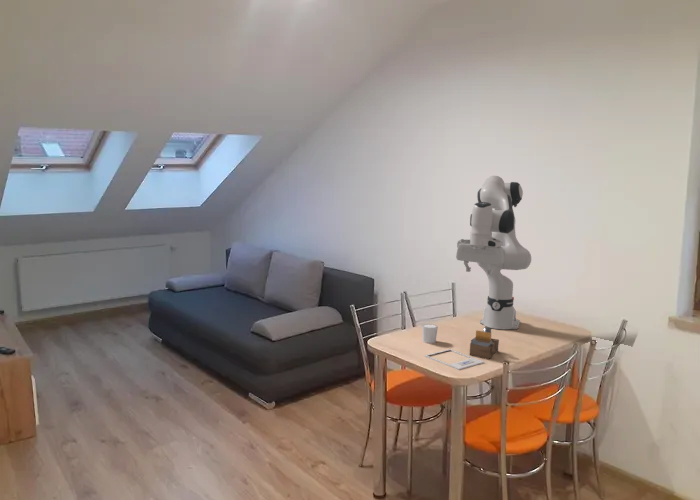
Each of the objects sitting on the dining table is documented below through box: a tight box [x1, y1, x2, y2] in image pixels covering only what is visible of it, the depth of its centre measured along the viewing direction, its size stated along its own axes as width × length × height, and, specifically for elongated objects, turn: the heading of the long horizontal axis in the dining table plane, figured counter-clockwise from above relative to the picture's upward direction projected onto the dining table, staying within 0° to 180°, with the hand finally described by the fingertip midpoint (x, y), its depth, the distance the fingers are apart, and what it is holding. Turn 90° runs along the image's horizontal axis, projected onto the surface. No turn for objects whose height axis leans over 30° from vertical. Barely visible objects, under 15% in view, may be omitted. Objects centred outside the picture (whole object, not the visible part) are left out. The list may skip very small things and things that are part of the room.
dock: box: [469, 337, 500, 360], centre depth 227 cm, size 12×8×5 cm, turn 148°
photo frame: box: [424, 348, 485, 371], centre depth 219 cm, size 15×1×18 cm
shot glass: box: [421, 323, 438, 344], centre depth 241 cm, size 7×7×7 cm
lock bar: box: [470, 330, 492, 347], centre depth 223 cm, size 5×7×4 cm
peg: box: [483, 326, 492, 334], centre depth 229 cm, size 3×3×10 cm
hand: (478, 272), depth 236 cm, fingers open, 8 cm apart
